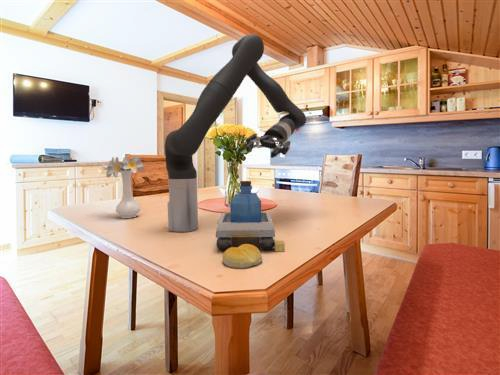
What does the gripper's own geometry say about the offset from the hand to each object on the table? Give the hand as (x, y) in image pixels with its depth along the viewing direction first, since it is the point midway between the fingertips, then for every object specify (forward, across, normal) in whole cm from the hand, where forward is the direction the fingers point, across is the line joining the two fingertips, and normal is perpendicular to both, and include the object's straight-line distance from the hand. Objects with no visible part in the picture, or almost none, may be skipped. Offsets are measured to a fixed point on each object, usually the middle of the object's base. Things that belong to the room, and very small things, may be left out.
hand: (259, 152), depth 92 cm
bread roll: (+35, +12, +11) cm, 38 cm away
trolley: (+23, +8, +17) cm, 29 cm away
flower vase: (+15, -51, +35) cm, 64 cm away
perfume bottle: (+21, +6, +12) cm, 25 cm away
